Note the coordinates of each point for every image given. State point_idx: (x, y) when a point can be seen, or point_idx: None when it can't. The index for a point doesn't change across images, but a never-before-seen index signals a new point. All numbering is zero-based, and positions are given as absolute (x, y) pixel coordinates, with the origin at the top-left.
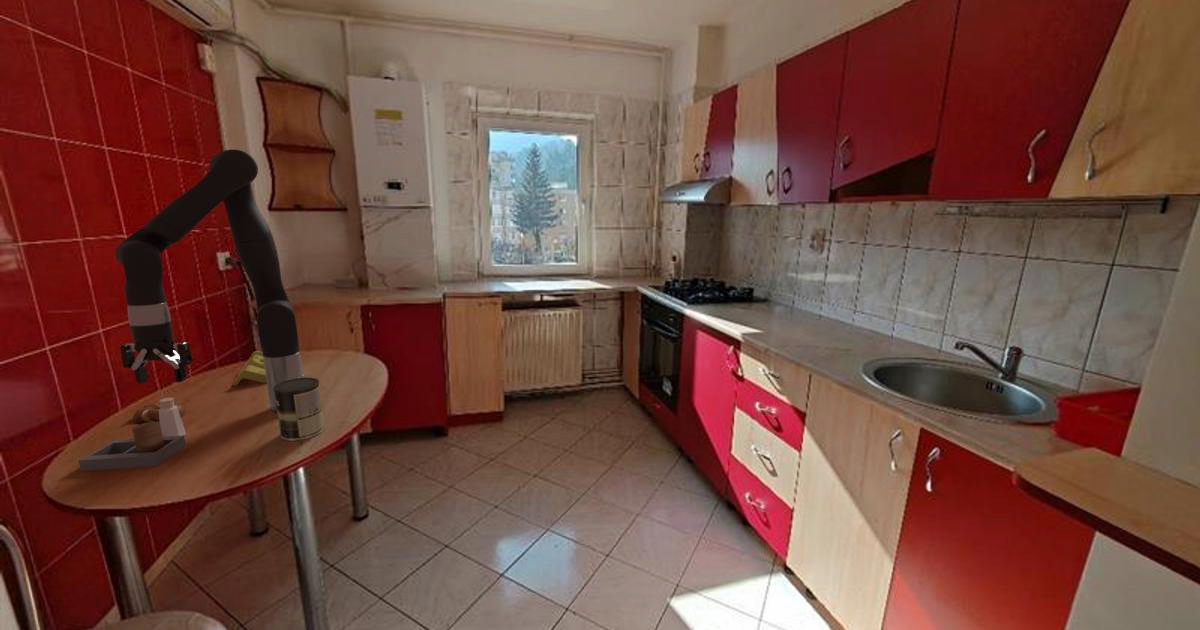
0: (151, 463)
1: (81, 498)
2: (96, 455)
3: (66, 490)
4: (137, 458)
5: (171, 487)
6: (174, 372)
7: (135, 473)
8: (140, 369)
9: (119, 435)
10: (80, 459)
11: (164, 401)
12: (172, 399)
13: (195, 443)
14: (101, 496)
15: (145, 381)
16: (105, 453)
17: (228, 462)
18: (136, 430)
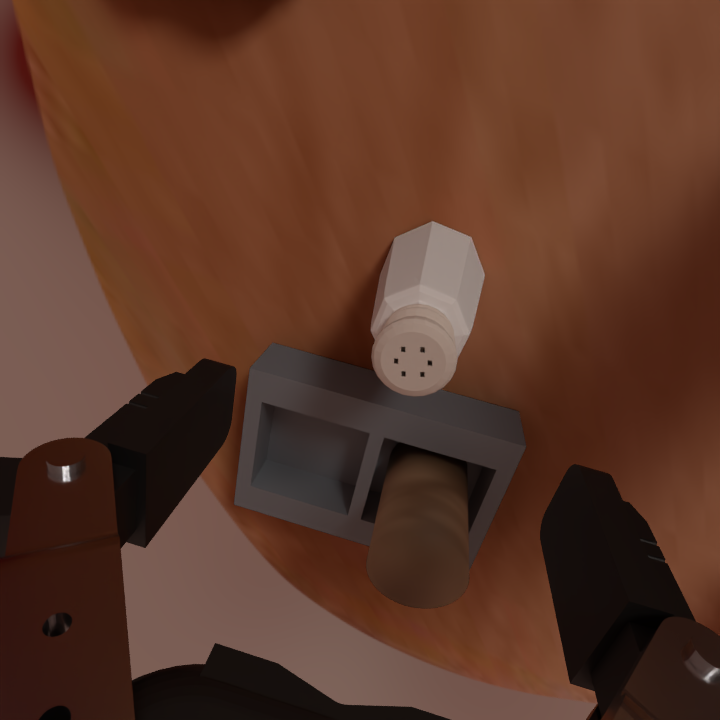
0: None
1: (339, 600)
2: (268, 491)
3: (276, 546)
4: None
5: (545, 648)
6: (561, 638)
7: None
8: (138, 517)
9: (164, 133)
10: (236, 500)
11: (415, 394)
12: (454, 365)
13: (543, 375)
14: (382, 612)
15: (230, 397)
16: (265, 425)
17: (693, 587)
18: (395, 600)
